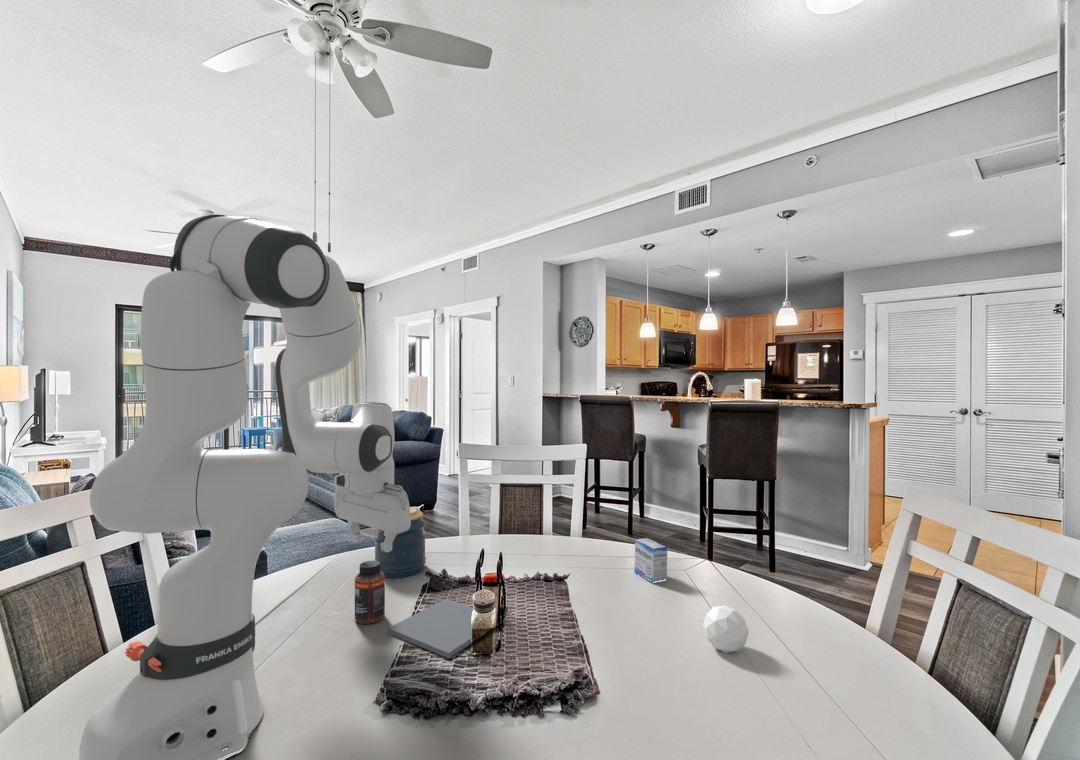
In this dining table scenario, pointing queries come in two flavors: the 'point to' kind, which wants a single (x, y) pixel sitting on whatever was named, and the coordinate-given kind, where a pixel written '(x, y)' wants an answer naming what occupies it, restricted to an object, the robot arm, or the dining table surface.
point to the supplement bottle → (369, 593)
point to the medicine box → (650, 559)
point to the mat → (438, 628)
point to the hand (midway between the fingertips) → (371, 546)
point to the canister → (403, 549)
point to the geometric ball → (725, 628)
